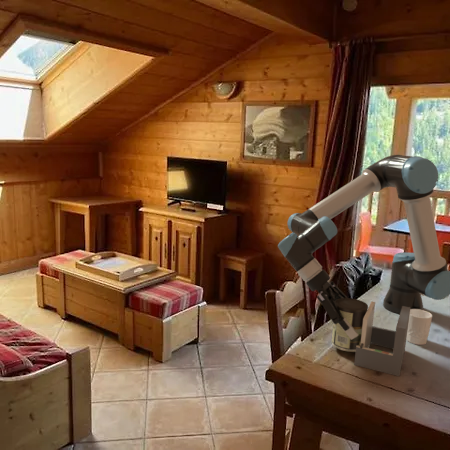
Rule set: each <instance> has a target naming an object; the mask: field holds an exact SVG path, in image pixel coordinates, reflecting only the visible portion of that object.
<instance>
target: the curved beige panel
mask: <svg viewBox="0 0 450 450" xmlns="http://www.w3.org/2000/svg"><path fill="white" fill-rule="evenodd" d="M375 307H376V301H371V302H370V304H369V306H368V309H367V312H366V314H365V316H364V318H363V326H362V335H361V344H360V348H363V347H366V348H370V345H371V344H370V342H371V335H372V326H373V325H374V319H375V317H374V315H375V309H376V308H375Z"/></svg>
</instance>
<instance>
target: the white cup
mask: <svg viewBox="0 0 450 450" xmlns="http://www.w3.org/2000/svg"><path fill="white" fill-rule="evenodd" d="M432 319H433V313H430V311H426V310H424V309H423V310H420V309H410V316H409V323H408V331H407V338H406V342H408V343H411V344H413V345H419V346H423V345H426V344H427V342H428V338H429V335H430V329H431V326H432Z"/></svg>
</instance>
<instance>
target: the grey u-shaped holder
mask: <svg viewBox="0 0 450 450" xmlns="http://www.w3.org/2000/svg"><path fill="white" fill-rule="evenodd" d="M409 316H410V307H405V306H402V309H401V312H400V314H399V316H398V320H397V323H396V327H395V330H391V329H387V328H382V327H378V326H372V335H371V342H370V345H373V346H379V347H382V348H383V347H384V348H386V349H387V348H389V349H392V350H393V351H392V353H391V352H388V351H384V350H380V349H374V348H370V347H368V348H366V347H363V348H360V346H356V352H354V353H355V354H354V366H357V367H361V368H364V369H369V370H372V371H377V372H381V373H383V374H389V375H393V376H395V377H396V376H397V377H400V376H401V375H400V374H401V370H402V366H403V361H404V355H405V352H406V344H407V340H406V338H407V331H408V323H409Z"/></svg>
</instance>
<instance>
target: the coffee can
mask: <svg viewBox="0 0 450 450" xmlns="http://www.w3.org/2000/svg"><path fill="white" fill-rule="evenodd" d="M335 302H336V304H337V306H338V308H339V310H340V312H341V314H342V316H343V318H346V319H347V321H348V322H349V323H350V324H351V326H352V327H353V328H354V329H355V331H356V332H357V333H358V334H359V335H358V336H357V337H355V338H354V339H352V340H351V339H350V338H349V336H348V335H347V334H346V333H345V331H344V330H343V329H342V327H341V326H340V325H339V324H338V323H337V324H334V323H333V322H332V332H331V333H332V336H331V345H332V346H333V347H334V348H335V349H338V350H339V351H345V352H351V353H356V346H360V344H361V335H362V326H363V318H364V316H365V314H366V312H367V310H368V308H369V306H368V304H367V303H366V302H364V301H363V300H360V299H357V298H352V297H351V298H349V297H348V298H341V299H337V300H336V301H335Z"/></svg>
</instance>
